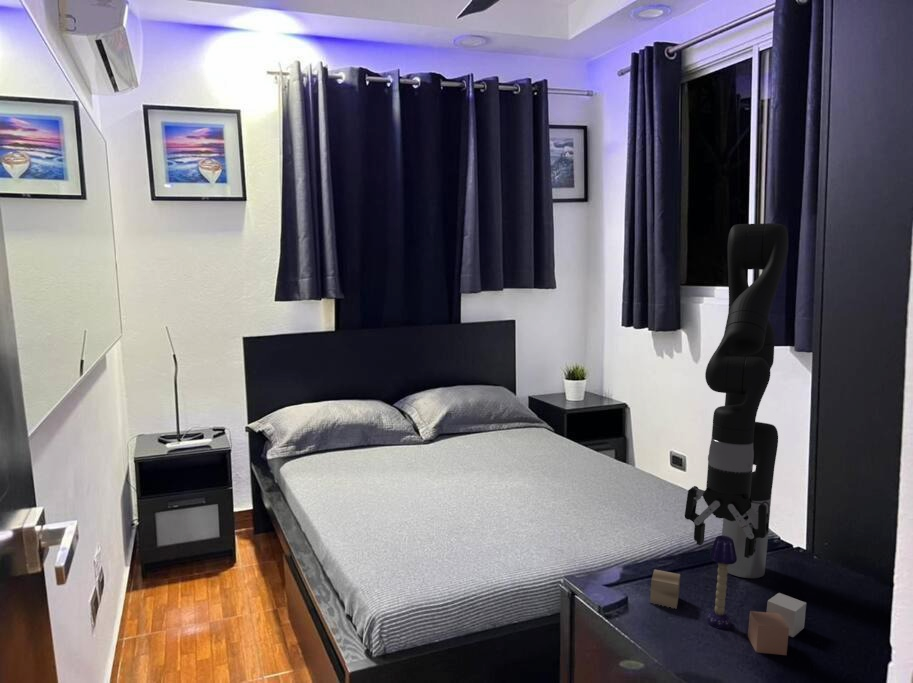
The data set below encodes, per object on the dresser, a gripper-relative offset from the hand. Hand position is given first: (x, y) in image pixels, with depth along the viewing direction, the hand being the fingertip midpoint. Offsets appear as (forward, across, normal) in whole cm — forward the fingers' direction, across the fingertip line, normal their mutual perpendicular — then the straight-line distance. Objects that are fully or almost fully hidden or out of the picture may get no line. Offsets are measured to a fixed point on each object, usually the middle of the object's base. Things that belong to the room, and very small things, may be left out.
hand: (723, 549), depth 125 cm
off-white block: (+14, -10, -7) cm, 19 cm away
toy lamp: (+14, 0, 0) cm, 15 cm away
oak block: (+14, +11, -2) cm, 18 cm away
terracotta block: (+14, -9, +2) cm, 17 cm away
